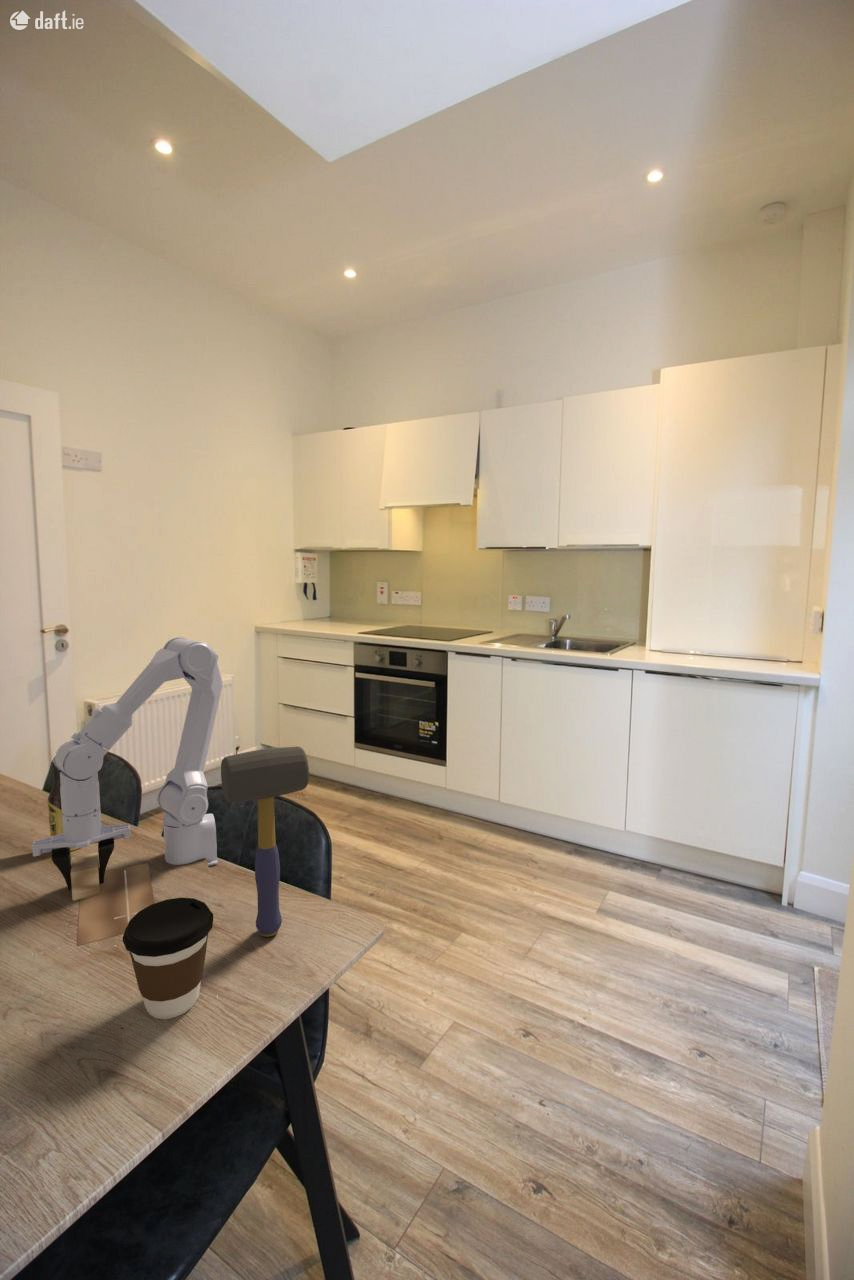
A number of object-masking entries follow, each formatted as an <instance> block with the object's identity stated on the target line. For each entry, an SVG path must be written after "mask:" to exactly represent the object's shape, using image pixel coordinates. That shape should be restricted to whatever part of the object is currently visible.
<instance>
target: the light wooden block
mask: <svg viewBox="0 0 854 1280" xmlns="http://www.w3.org/2000/svg"><path fill="white" fill-rule="evenodd" d="M71 885H72V890H71V896H72V897H71V898H72V899H71V900H72V901H73V902H74V901H79V900H80V899H82V898H87V897H91V896H96V895H100V884H99V855H98V851H97V852H91V853H88V854H87V853H86V854H82V855H77V856H71Z"/></svg>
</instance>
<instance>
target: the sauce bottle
mask: <svg viewBox="0 0 854 1280" xmlns="http://www.w3.org/2000/svg"><path fill="white" fill-rule="evenodd" d="M51 768H52V770H53V771H52V772H53V779H52V781H53V782H52V785H51V789H50V792H49V795H48V798H47V810H48V824H49V834H50V836H49V837H52V836H56V835H59V834H62V833H63V820H62V808H61V793H60V787H61V782H60V772H62V771H61V770H59V769H58V768H57V767H56V766H55V764H54V761H53V759H51ZM77 850H80V848H75V847H73V848H70V853H71V852H75V851H77Z"/></svg>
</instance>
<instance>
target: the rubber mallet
mask: <svg viewBox="0 0 854 1280" xmlns="http://www.w3.org/2000/svg"><path fill="white" fill-rule="evenodd" d="M309 769H310V768H309V761H308V757H307V754H306V752H305V750H304V749H303V748H302V747H301V746H286V747H272V748H263V749H257V750H251V751H246V752H240V753H236V754H231V755H226V756H225V757H224V758H223V759H222V760H221V763H220V781H221V782H220V783H221V789H222V794H223V797H224V800H225V801H226V802H227V803H231V804H232V803H241V802H249V801H257V830H258V831H257V834H258V835H257V836H258V837H257V838H258V840H257V841H258V845H257V848H256V850H255V851H256V853H255V861H254V864H255V865H254V877H255V884H256V885H255V886H256V892H257V895H256V896H257V915H256V918H255V927H256V929H257V931H258V933H259V935H260V936H262V937H266V938H269V937H272V936H275V935H277V934H278V932H279V930H280V928H281V926H282V923H283V921H282V920H283V917H282V914H281V911H280V895H279V894H280V892H279V891H280V889H279V888H280V881H281V880H280V878H281V867H280V866H281V864H280V863H281V862H280V855H279V848H278V846H277V844H276V825H275V822H276V821H275V819H276V818H275V817H276V816H275V815H276V814H275V798H276V797H279V796H284V795H288V794H292V793H296V792H299V791H303V790H305V789H306V788H307V787H308V784H309V778H310V770H309Z"/></svg>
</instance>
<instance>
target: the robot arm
mask: <svg viewBox="0 0 854 1280" xmlns="http://www.w3.org/2000/svg"><path fill="white" fill-rule="evenodd" d="M218 660H219V655H218V654H217V652H216V651H215V650H214V649H213V648H212V647H211V646H210V644H208V643H207V642H205V641H200V640H198V641H197V640H193V639H188V638H185V637H182V636H181V637H178V636H177V637H173V638H171V639H169V640H168V641H167V642H166V643H165V644H164V646H163V647H161V648H160V649H158V650H157V651H156V652H155V654H154V656H153V657H152V658H151V660H150V662H149V663H148V664H147V666H146V667H145V668H144V669H143V670H142V671H141V673H139V675H138V676H137V677H136V679H134V681H133V682H132V683H131V685H130V686H129V687H128V688H127V689H126V691H124V693H123V694H122V695H121V696H120V697H119V699H118V700H117V701H116V702H114V703H110V704H105V705H103V706H102V707H101V708H100V709H99V708H96V709H94V711H92V712H91V715H92V716H93V717H92V718H91V719H90V720H89V721H88V722H87V723H86V724H85V725H84V726H83V727H82V729H81V730H80V731H79V732H75V733H74V734H72V735H71V739H70V740H69V741H65V742H64V743H62V745H60V746H59V747H58V749H57V750H56V753H55V756H54V757H53V759H52V760H53V761H54V764H55V766H56V767H57V768H58V769H59V770H61V771H62V772H60V782H61V787H60V793H61V808H62V820H63V833H62V834H59V835H56V836H52V837H50V836H49V837H46V838H42V839H37V840H33V842H32V846H31V848H32V857H38V856H41V855H42V854H45V853H50V852H51V861H52V862H53V864H54V865H55V867H57V869H58V870H59V871H60V874H61V875H62V877H63V879H64V881H65V883H66V887H67V890H68V892H69V891H72V885H71V865H72V856H71V854H72V853H71V852H70V848H73V847H75V848H79V849H81V848H87V847H89V846H91V845H92V844H97V852H98V857H99V884H102V883H104V875H105V872H106V869H107V867H108V863H109V860H110V858H111V855H112V853H113V851H114V849H115V840H120V839H123V840H128V839H131V838H132V837H131V834H132V833H131V825H130V824H131V823H126V824H117V825H115V824H114V825H103V824H102V813H101V811H102V810H101V797H100V781H99V776H98V775H99V771H101V769H102V767H103V764H104V758H105V756H106V754H108V752H109V751H110V750H111V749H112V748H113V747H114V745H116V743H117V742H118V741H119V740H120V739H121V738H122V736H124V734H126V732H127V731H128V730H129V729H130V728H131V726H132V725H133V714H134V713H135V712H136V711H137V710H138V709H139V708H140V707H141V706H142V705H143V704H144V703H145V702H146V701H147V700H148V699H149V698H150V697H151V696H152V695H154V693H155V692H156V691H157V690H158V689H160V688H161V686H162V685H163V684H164V683H166V682H170V681H175V680H180V679H184V680H185V681H186V683H187V684H188V685H189V686H190V688H191V693H190V696H189V701H188V706H187V711H186V715H185V720H184V724H183V728H182V733H181V736H180V737H181V738H180V740H179V741H180V742H179V747H178V751H177V755H176V759H175V765H174V767H173V768H172V770H170V771H169V772H168V773H167V774H166V779H165V781H164V783H163V785H162V786H161V787H160V789H159V791H158V792H157V798H156V800H157V805H158V806H159V808H160V809H161V810H163V813H164V814H163V818H162V824H163V825H162V826H163V842H164V843H163V845H164V846H163V847H164V849H163V850H164V861H165V862H166V863H168V864H169V865H179V866H181V865H187V864H190V863H193V862H197V861H200V860H203V859H205V860H206V864H207V865H208V867H209V866H215V865H217V864H218V863H219V861H218V854H217V853H218V851H217V849H218V848H217V847H218V846H217V828H216V820H215V816H214V814H213V813H207V812H208V810H209V801H208V800H209V799H208V794H207V792H208V789H209V787H208V783H207V779H206V777H205V774H204V773H205V772H204V770H205V766H206V761H207V757H208V753H209V747H210V743H211V739H212V735H213V731H214V726H215V721H216V717H217V712H218V707H219V702H220V698H221V694H222V689H223V679H222V676H221V672H220V668H219V664H218Z"/></svg>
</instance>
